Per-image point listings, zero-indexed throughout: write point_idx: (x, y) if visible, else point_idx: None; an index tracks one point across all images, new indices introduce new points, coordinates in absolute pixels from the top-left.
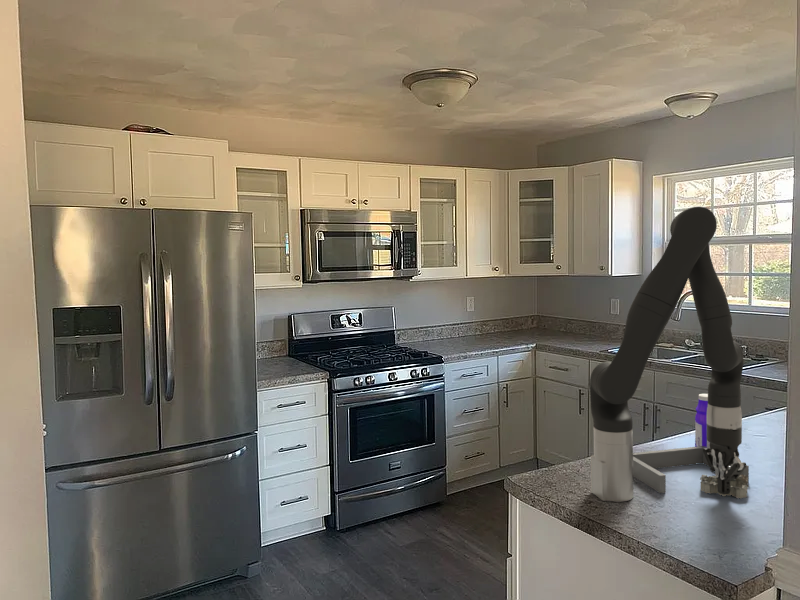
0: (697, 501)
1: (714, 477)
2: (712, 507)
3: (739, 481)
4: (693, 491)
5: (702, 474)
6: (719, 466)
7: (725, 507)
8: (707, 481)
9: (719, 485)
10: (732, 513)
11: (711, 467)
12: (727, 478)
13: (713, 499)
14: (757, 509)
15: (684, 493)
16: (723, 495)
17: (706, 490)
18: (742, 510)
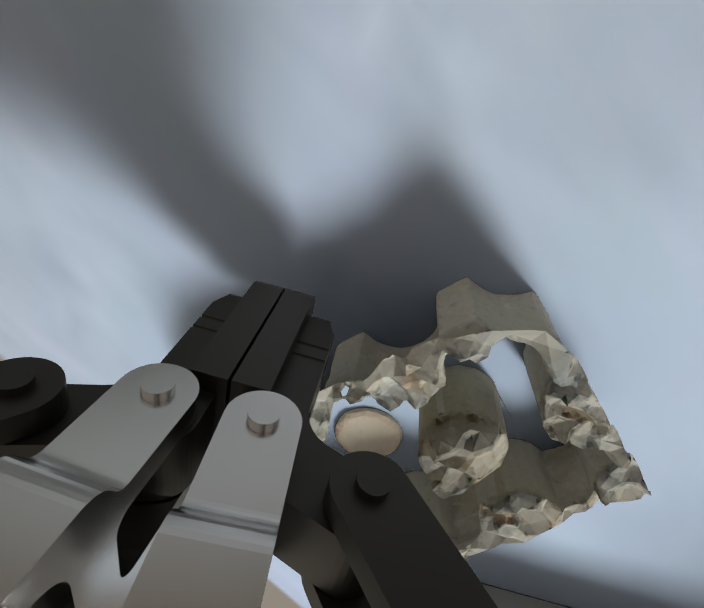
0: (366, 15)
1: (531, 505)
2: (180, 28)
3: None
4: (570, 221)
5: (647, 491)
6: (31, 537)
7: (149, 151)
8: (460, 354)
9: (264, 326)
10: (20, 86)
11: (387, 522)
12: (12, 370)
13: (329, 215)
14: (70, 320)
15: (610, 83)
16: (344, 343)
17: (460, 293)
18: (68, 219)
